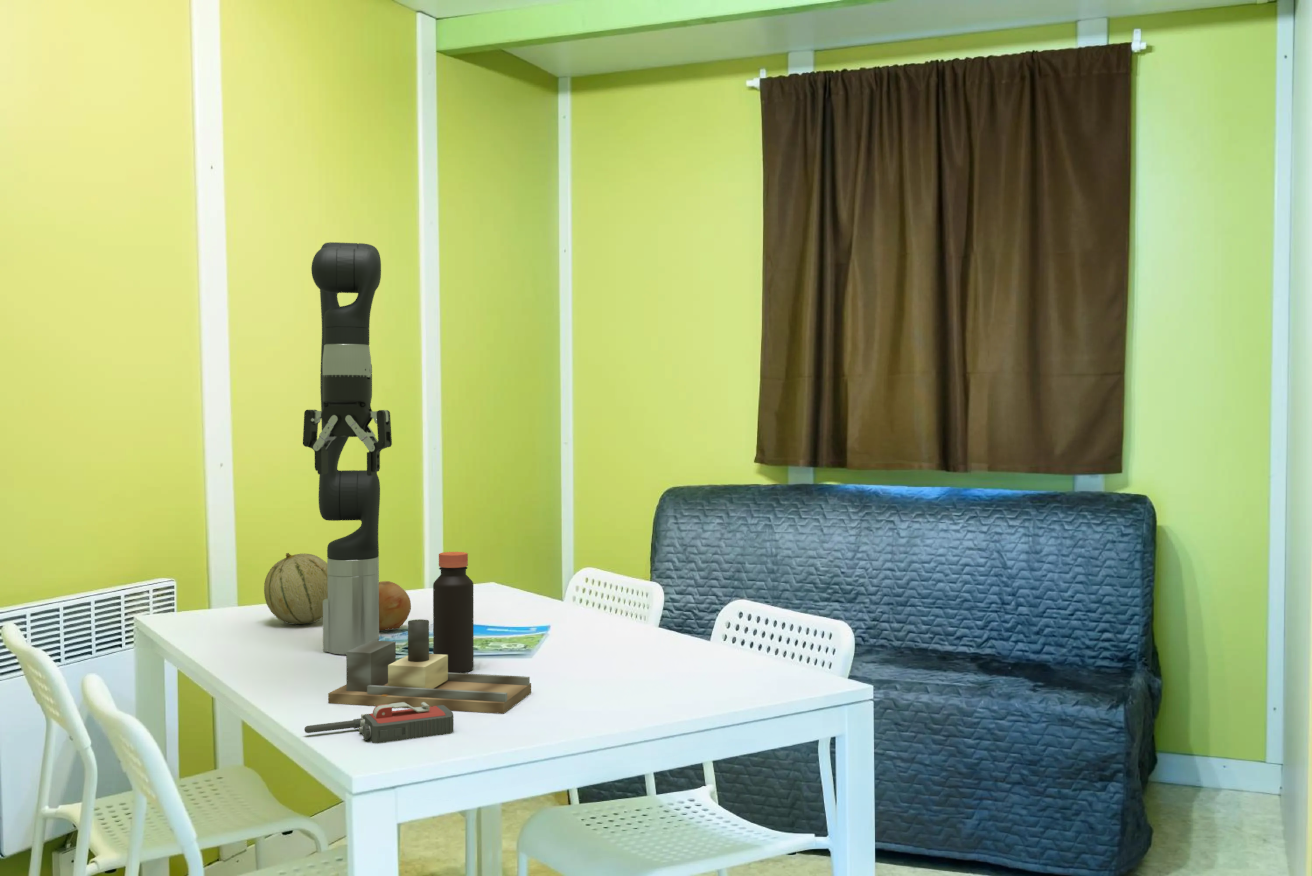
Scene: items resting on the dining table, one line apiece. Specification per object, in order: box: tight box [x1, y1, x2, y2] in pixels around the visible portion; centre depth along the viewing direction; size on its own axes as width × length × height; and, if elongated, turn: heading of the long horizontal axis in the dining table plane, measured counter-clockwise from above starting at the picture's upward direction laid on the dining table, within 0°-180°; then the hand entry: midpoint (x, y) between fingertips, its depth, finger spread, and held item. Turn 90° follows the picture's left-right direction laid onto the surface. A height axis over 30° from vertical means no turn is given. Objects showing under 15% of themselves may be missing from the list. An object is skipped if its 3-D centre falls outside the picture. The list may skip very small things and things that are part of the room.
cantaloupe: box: [263, 552, 328, 625], centre depth 243 cm, size 15×15×15 cm
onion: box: [379, 580, 412, 632], centre depth 236 cm, size 10×10×10 cm
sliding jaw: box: [388, 618, 448, 689], centre depth 182 cm, size 6×9×10 cm, turn 168°
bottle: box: [432, 551, 475, 673], centre depth 201 cm, size 7×7×20 cm
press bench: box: [327, 640, 532, 715], centre depth 182 cm, size 28×13×8 cm, turn 78°
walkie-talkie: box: [303, 702, 454, 744], centre depth 162 cm, size 9×4×20 cm
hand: (347, 474), depth 188 cm, fingers open, 8 cm apart
